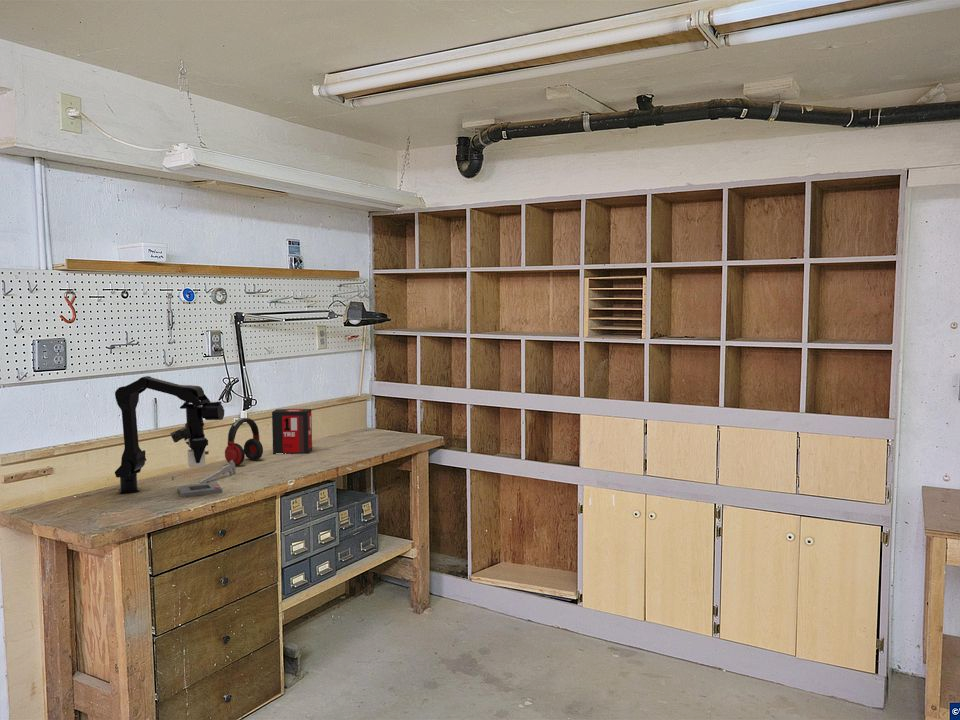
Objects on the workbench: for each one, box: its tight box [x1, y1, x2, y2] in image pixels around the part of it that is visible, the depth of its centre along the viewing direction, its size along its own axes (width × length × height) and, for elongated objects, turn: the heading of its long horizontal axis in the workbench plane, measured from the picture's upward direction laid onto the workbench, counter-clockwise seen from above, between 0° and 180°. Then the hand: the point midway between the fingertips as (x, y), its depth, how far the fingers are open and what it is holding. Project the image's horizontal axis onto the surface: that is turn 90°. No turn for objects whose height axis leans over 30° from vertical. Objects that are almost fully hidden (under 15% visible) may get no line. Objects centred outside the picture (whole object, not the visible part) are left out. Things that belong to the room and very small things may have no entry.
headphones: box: [224, 417, 264, 467], centre depth 320 cm, size 18×10×20 cm, turn 157°
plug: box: [187, 448, 209, 469], centre depth 269 cm, size 4×7×6 cm, turn 119°
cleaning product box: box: [271, 408, 313, 455], centre depth 343 cm, size 16×9×20 cm, turn 92°
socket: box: [177, 481, 223, 499], centre depth 271 cm, size 12×14×2 cm
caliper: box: [197, 460, 237, 484], centre depth 290 cm, size 20×1×6 cm, turn 157°
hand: (196, 461), depth 269 cm, fingers closed on plug, 4 cm apart
